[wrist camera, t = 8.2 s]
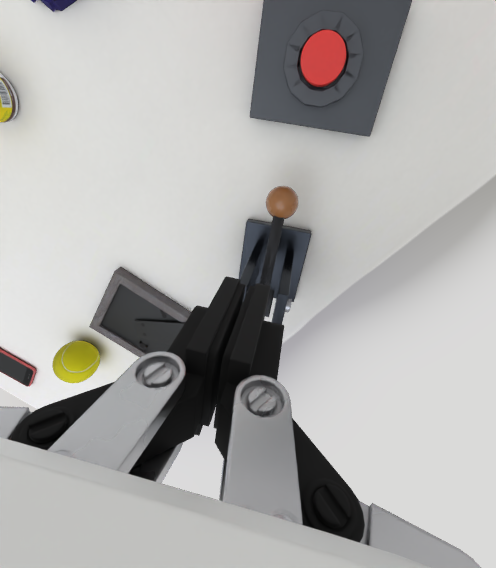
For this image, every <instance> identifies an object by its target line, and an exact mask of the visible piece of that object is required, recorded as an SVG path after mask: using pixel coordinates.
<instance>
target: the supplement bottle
mask: <svg viewBox="0 0 496 568" xmlns="http://www.w3.org/2000/svg"><path fill="white" fill-rule="evenodd" d="M17 111H18V100H17V96H16V93H15V91H14V89H13V87H12V85H11V84H10V82H9V81H8V80H7V79H6V78H5V77H4V76H3V75H2V74H1V73H0V122H8V121H11V120H12V119H14V117H15V116H16V114H17Z"/></svg>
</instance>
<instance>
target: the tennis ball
mask: <svg viewBox="0 0 496 568" xmlns="http://www.w3.org/2000/svg"><path fill="white" fill-rule="evenodd" d="M99 362H100V354H99V352H98V350H97V349H96V348H95V347H94V346H93V345H92V344H90V343H88V342H85V341H73V342H70V343H68V344H66V345H64V346H63V347H62V348H61V349H60V350H59V351H58V352H57V353H56V355H55V357H54V360H53V370H54V373H55V374H56V376H57V377H58V378H59V379H61V380H63V381H65V382H68V383H79V382H82V381H84V380H86V379H88V378H89V377H90V376H92V375H93V374H94V372H95V371H96V370H97V368H98V366H99Z"/></svg>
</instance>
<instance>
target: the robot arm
mask: <svg viewBox="0 0 496 568" xmlns="http://www.w3.org/2000/svg"><path fill="white" fill-rule="evenodd" d="M270 287H271V286H268V285H263V284H259V283H256V285H255V287H254V286H249V288H248V291H247V294H246V296H245V299H244V292H245V284H241V280H240V279H235V278H231V277H225V279H224V280H223V282H222V284H221V286H220V288H219V289H218V291H217V293H216V295H215V297H214V298H213V300H212V302H211V304H210V306H209V307H208V308H206V307H201V306H196V307H195V308H194V310H193V311H192V313H191V314H190V316H189V317H188V319H187V321H186V322H185V324H184V325H183V327H182V329H181V330H180V332H179V333H178V335H177V336H176V338H175V340H174V341H173V343H172V344H171V346H170V348H169V349H168V351H167V352H153V353H148V354H146V355H144V356H142V357H140V358H139V359H138V360H136V361H135V362H134V363H133V364H132V365H131V366H130V367H129V368H128V369H127V370H126V371H125V372H124V373H123V374H122V375H121V376H120V377H119V378H118V379H117V380H116V381H115V382H113V383H110V384H107V385H104V386H101V387H99V388H96V389H93V390H90V391H87V392H84V393H81V394H78V395H75V396H73V397H70V398H67V399H64V400H61V401H58V402H55V403H52V404H49V405H47V406H44V407H42V408H40V409H38V410H36V411H34V412H30V411H29V408H25V407H0V568H481V567H480V566H479V565H478V564H477V563H476V562H475V561H474V560H473V559H472V558H471V557H470V556H468V555H467V554H465V553H464V552H463V551H461V550H460V549H458V548H456V547H454V546H452V545H451V544H449V543H447V542H445V541H443V540H441V539H439V538H437V537H436V536H433V535H432V534H430V533H428V532H426V531H424V530H422V529H420V528H419V527H417V526H415V525H413V524H411V523H409V522H407V521H405V520H403V519H402V518H400V517H398V516H396V515H394V514H392V513H390V512H388V511H386V510H384V509H383V508H380V507H379V506H377V505H375V504H373V503H372V504H371V505H370V506H368V505H366V504H364V503H362V502H360V501H359V500H358V499H357V497H356V496H355V494H354V493H353V491H352V490H351V488H350V487H349V486H348V485H347V484H346V482H345V481H344V480H343V479H342V478H341V476H340V475H339V474H338V473H337V471H336V470H335V469H334V468H333V467H332V465H331V464H330V463H329V462H328V461H327V460H326V458H325V457H324V456H323V455H322V453H321V452H320V451H319V450H318V449H317V448H316V446H315V445H314V444H313V443H312V442H311V440H310V439H309V438H308V436H307V435H306V434H305V433H304V432H303V430H302V429H301V428H300V427H299V426H298V424H297V423H296V422H295V421H294V420H293V418H292V412H291V402H290V397H289V394H288V392H287V390H286V389H285V387H284V386H283V385H282V384H280V383H279V382H278V381H277V375H278V367H279V360H280V353H281V346H282V338H283V331H284V325H281V324H276V323H272V322H267V321H264V317H265V312H266V307H267V302H268V297H269V292H270ZM243 299H244V302H243ZM215 407H216V413H215V421H214V428H216V429H217V431H216V438H215V443H216V445H217V447H218V449H219V451H220V452H221V454H222V456H223V458H224V461H223V468H222V477H221V487H220V495H219V500H216V499H213V498H209V497H206V496H202V495H199V494H195V493H192V492H189V491H185V490H182V489H178V488H175V487H171V486H168V485H165V484H161V483H162V481H163V480H164V478H165V476H166V474H167V473H168V471H169V469H170V467H171V466H172V464H173V462H174V460H175V459H176V457H177V455H178V453H179V452H180V449H181V447H182V444H183V442H184V441H186V440H188V439H190V438H192V437H194V435H200V432H201V429H202V426H203V425H206V426H209V424H210V422H211V419H212V416H213V413H214V410H215Z"/></svg>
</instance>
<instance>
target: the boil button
mask: <svg viewBox="0 0 496 568" xmlns="http://www.w3.org/2000/svg"><path fill="white" fill-rule="evenodd" d="M345 60H346V46H345V43H344V41H343V39H342V37H341V36H340V35H339V34H338V33H336V32H335V31H332V30H321V31H319V32H317V33H315V34H314V35H312V36H311V37H310V38H309V39H308V41H307V42H306V44H305V46H304V48H303V50H302V54H301V69H302V73H303V76H304V78H305V79H306V81H307V82H308V83H309V84H311V85H313V86H316V87H323V86H327V85H329V84H331V83H332V82H333V81H334V80H335V79H336V78H337V77H338V76H339V74H340V73H341V71H342V69H343V67H344V64H345Z"/></svg>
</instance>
